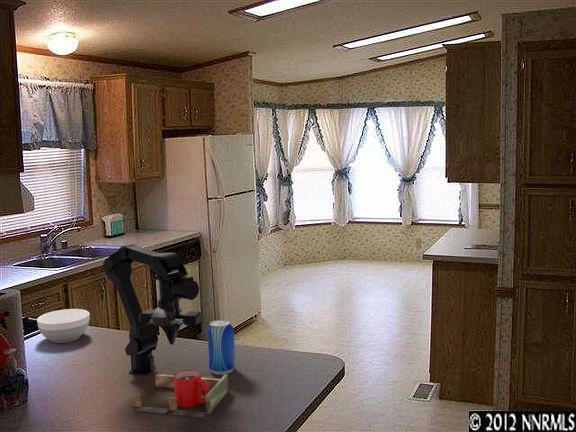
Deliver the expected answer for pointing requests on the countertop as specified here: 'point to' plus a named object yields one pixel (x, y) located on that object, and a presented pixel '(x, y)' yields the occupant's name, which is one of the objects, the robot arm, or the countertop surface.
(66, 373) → the countertop surface
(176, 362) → the countertop surface
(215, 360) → the beer can
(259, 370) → the countertop surface
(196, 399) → the mug
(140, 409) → the wooden box
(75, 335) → the bowl
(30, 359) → the countertop surface
